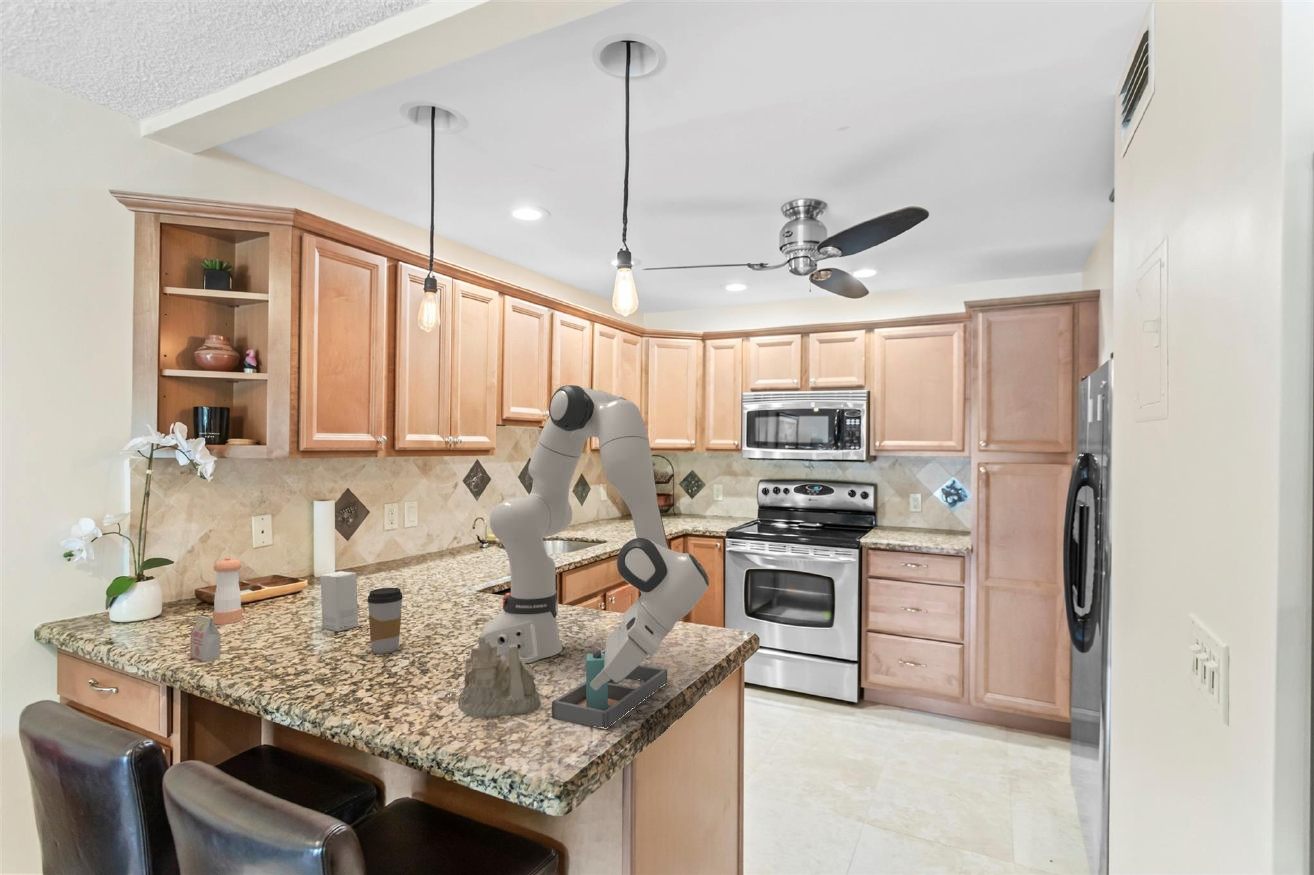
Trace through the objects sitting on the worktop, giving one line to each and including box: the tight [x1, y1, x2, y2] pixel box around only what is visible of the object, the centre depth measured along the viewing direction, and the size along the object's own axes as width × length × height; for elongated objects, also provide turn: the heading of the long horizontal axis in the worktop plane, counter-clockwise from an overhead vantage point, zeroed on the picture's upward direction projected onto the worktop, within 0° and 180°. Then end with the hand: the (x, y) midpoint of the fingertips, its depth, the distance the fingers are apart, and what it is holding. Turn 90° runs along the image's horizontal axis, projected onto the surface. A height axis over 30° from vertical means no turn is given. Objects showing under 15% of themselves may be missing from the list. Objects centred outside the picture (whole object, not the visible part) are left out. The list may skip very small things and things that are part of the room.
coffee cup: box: [366, 587, 403, 655], centre depth 162 cm, size 8×8×15 cm
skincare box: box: [320, 570, 359, 632], centre depth 183 cm, size 8×7×16 cm
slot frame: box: [551, 664, 668, 728], centre depth 129 cm, size 25×12×3 cm, turn 153°
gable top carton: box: [189, 615, 221, 663], centre depth 157 cm, size 4×7×10 cm, turn 58°
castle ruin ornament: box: [457, 635, 541, 719], centre depth 129 cm, size 16×16×15 cm
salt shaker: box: [212, 556, 243, 625], centre depth 191 cm, size 7×7×19 cm
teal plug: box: [585, 648, 608, 711], centre depth 123 cm, size 4×4×11 cm
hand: (593, 677), depth 123 cm, fingers open, 8 cm apart
